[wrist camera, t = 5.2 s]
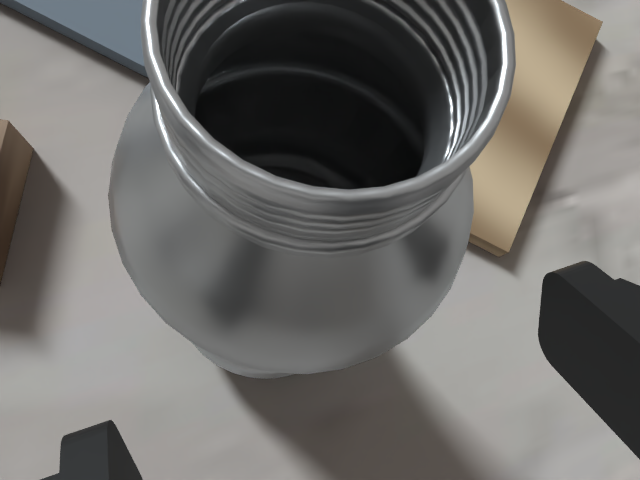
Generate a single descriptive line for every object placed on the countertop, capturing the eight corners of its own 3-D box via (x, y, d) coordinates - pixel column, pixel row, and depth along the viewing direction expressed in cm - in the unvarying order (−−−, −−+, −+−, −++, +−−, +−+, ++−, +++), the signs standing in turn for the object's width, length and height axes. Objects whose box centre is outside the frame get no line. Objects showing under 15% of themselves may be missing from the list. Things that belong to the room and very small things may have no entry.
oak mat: (499, 257, 27) (508, 252, 26) (240, 125, 27) (240, 115, 26) (591, 33, 30) (602, 21, 29) (362, -85, 30) (365, -100, 29)
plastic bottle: (216, 202, 26) (135, -333, 6) (362, 257, 26) (708, -99, 7) (156, 345, 24) (-193, 201, 5) (313, 402, 24) (584, 485, 5)
